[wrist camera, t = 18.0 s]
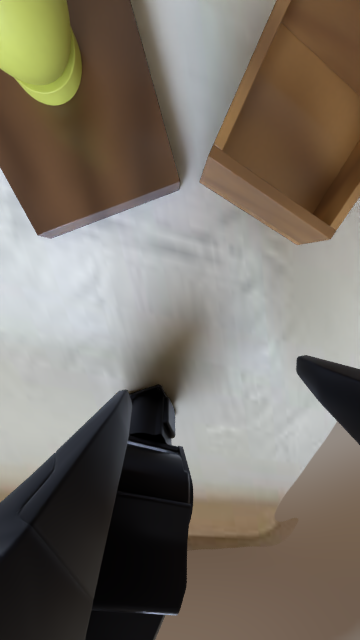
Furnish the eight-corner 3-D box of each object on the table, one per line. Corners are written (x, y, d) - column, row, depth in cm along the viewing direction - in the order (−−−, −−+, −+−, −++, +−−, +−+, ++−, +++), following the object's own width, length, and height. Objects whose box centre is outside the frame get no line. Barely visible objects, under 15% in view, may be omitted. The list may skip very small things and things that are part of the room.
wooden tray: (297, 245, 19) (330, 239, 15) (199, 182, 16) (208, 156, 12) (381, 113, 15) (452, 62, 12) (274, 13, 13) (317, -94, 9)
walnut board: (51, 238, 17) (37, 235, 15) (-117, -77, 11) (-171, -141, 9) (179, 190, 16) (180, 181, 15) (76, -176, 10) (57, -264, 9)
